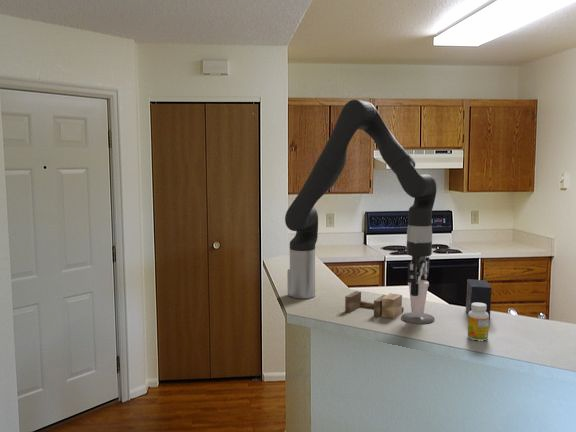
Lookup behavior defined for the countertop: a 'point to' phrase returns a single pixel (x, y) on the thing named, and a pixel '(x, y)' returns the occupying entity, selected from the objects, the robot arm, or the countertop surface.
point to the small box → (478, 294)
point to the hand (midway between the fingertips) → (418, 292)
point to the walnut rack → (376, 304)
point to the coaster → (417, 318)
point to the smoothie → (419, 297)
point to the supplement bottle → (478, 322)
